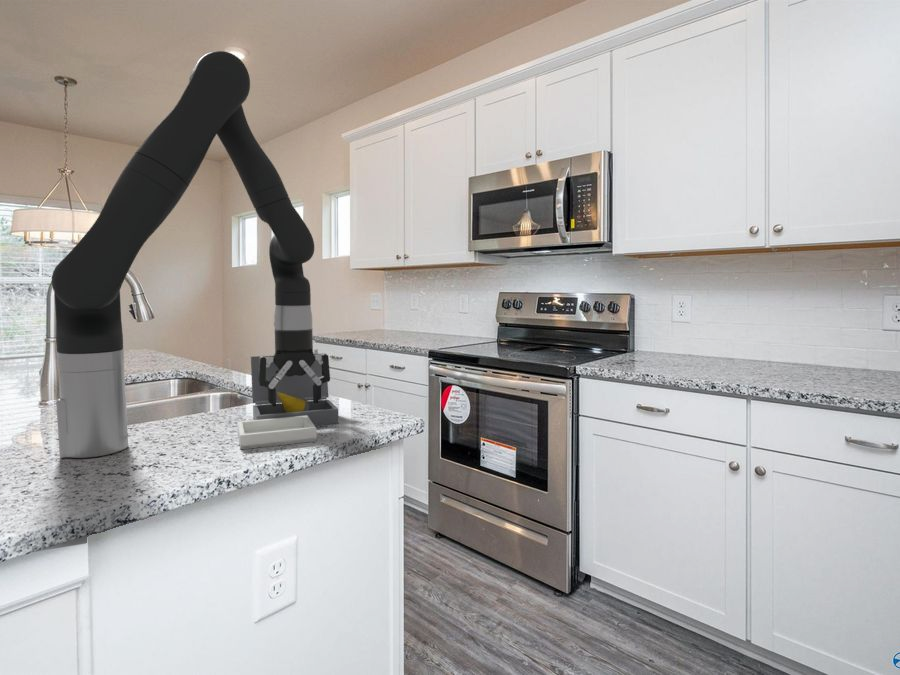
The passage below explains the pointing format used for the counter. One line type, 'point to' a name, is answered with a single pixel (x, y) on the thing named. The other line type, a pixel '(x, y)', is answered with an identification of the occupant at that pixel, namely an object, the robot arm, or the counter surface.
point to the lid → (285, 383)
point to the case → (318, 415)
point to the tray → (275, 432)
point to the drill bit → (293, 403)
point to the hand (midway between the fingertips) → (295, 404)
